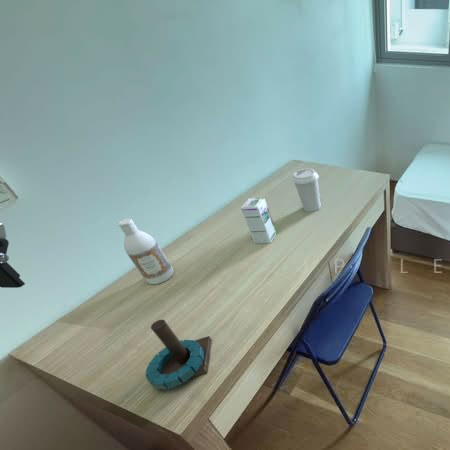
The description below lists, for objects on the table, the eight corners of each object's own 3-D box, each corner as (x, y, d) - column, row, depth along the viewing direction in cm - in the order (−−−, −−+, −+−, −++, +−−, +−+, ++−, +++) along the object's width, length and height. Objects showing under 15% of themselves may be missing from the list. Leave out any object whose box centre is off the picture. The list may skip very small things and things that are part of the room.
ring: (202, 375, 64) (199, 370, 63) (146, 397, 61) (141, 392, 60) (205, 338, 72) (201, 333, 71) (155, 356, 68) (150, 351, 67)
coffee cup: (316, 199, 127) (308, 165, 119) (329, 206, 122) (322, 172, 113) (295, 208, 122) (286, 173, 113) (308, 216, 116) (299, 181, 108)
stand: (207, 373, 66) (179, 334, 58) (159, 389, 64) (123, 351, 56) (211, 339, 73) (187, 301, 65) (168, 353, 71) (137, 314, 63)
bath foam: (147, 288, 88) (107, 232, 77) (147, 275, 93) (109, 220, 81) (175, 278, 91) (140, 222, 80) (173, 265, 96) (140, 211, 85)
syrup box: (271, 243, 103) (258, 206, 95) (254, 243, 104) (239, 207, 95) (277, 233, 108) (265, 197, 100) (260, 233, 108) (247, 197, 100)
